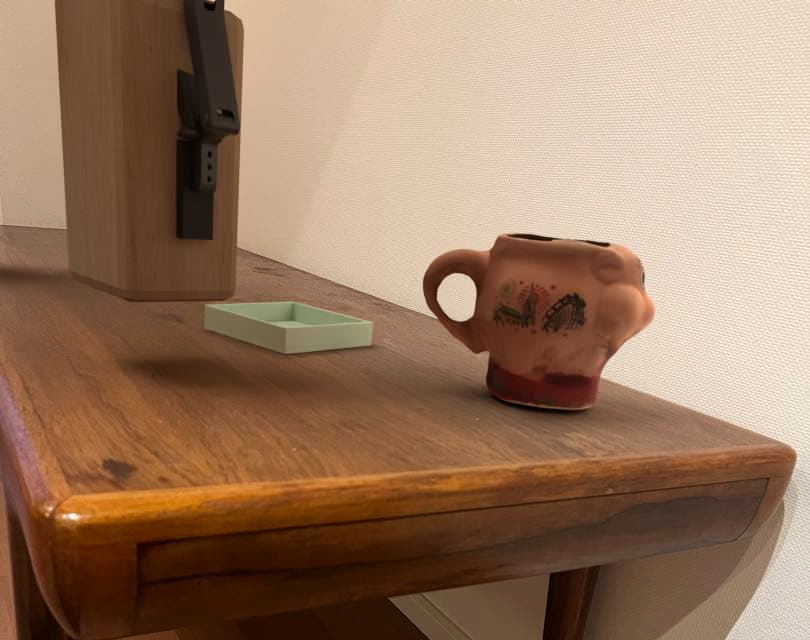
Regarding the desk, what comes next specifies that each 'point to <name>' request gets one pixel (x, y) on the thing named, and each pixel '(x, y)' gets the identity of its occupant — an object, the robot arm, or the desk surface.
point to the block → (138, 153)
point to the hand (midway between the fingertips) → (152, 228)
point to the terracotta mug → (546, 313)
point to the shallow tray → (288, 326)
